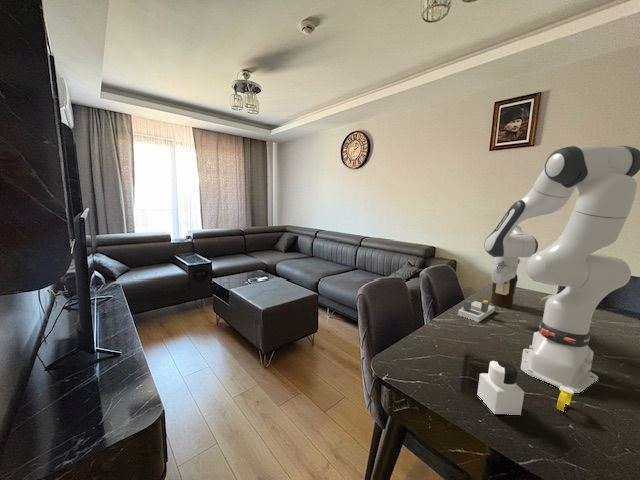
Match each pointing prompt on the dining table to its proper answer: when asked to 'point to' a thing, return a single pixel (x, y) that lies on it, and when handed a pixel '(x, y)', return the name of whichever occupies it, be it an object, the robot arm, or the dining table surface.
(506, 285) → the tan block with knob
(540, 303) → the ceramic mug
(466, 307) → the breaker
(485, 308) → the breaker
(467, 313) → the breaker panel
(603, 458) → the dining table surface
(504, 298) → the olive oil
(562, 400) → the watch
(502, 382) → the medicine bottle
